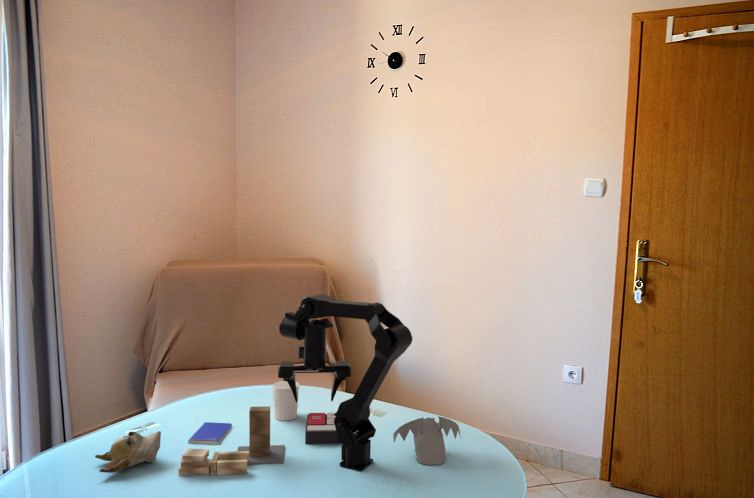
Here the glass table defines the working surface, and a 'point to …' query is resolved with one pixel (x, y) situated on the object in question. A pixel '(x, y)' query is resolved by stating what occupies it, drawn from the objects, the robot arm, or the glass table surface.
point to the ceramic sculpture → (131, 451)
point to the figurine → (428, 438)
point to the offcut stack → (195, 462)
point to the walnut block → (259, 431)
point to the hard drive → (210, 433)
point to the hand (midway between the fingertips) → (314, 401)
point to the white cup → (284, 401)
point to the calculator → (321, 429)
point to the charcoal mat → (274, 457)
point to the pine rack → (230, 463)
